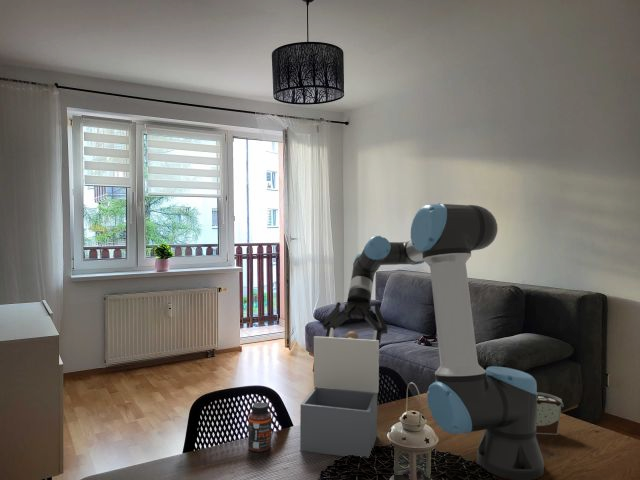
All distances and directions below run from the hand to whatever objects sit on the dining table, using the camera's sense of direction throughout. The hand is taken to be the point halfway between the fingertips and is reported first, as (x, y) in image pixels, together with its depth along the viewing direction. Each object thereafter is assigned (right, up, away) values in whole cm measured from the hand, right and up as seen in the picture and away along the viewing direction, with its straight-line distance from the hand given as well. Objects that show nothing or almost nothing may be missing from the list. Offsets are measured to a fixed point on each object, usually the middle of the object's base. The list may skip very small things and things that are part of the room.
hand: (351, 350), depth 139 cm
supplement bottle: (-25, -22, -17) cm, 37 cm away
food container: (+53, -22, -4) cm, 58 cm away
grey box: (-4, -22, -14) cm, 26 cm away
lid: (-2, -2, -8) cm, 8 cm away
